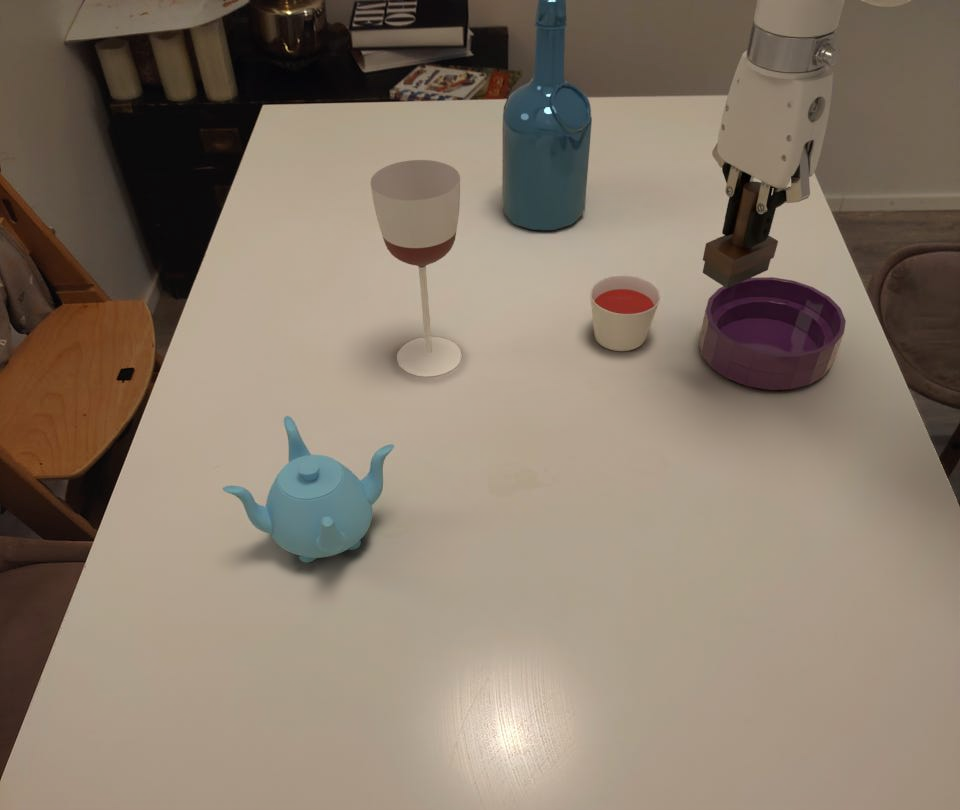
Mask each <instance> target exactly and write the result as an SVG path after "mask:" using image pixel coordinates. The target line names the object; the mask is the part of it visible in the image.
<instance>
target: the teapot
mask: <svg viewBox="0 0 960 810" xmlns="http://www.w3.org/2000/svg"><path fill="white" fill-rule="evenodd" d="M283 425H284V428H285V432H286V436H287V442H288V463H286V464H285V465H284V466H283V467H282V468H281V469H280V471H279V472H278V473H277V474H276V477H275V479H274V481H273V483H272V484H271V486H270V488H269V491H268V494H267V497H266V503H265V505H262V504H259V503H257V502H256V500H255V499H254V496H253V494H252V493H251V492H250V490H249V489H247V488H246V487H243V486H240V485H226V486H223V487H222V491H223V492H225V493H227V494H231V495H233V496H235V497H236V498H238V499H239V501H240V502H241V503H242V505H243V507H244V511H245V513H246V515H247V518H248V519H249V521H250V523H251V524H252V526H253V527H255V528H256V529H257V530H259V531H261V532H263V533H266V534H269V535H270V537H271V538H272V540H273V541H274V542H275V543H276V544H277V545H278V547H281V549H283V550H285V551H287V552H289V553H291V554H293V555H296V556H298V559H299V561H301V562H302V563H311V562H314V561H315V560H317V559H319V558H320V559H321V558H328V557H333V556H336V555H338V554H339V555H340V554H341V553H343V552H346V551H347V550H349V551H353V550H356V549H358V548H359V547H360V546H361V543H362V541H361V540H362V538H363V537H364V536H365V535H366V534H367V532H368V530H369V529H370V526H371V523H372V520H373V513H374V511H373V505H374V504H375V503H376V502H377V501H378V499H379V498H380V497H381V494H382V492H383V487H384V462H385V460H386V458H387V456H389V454H390V453H391V452H392V451H393V450H394V448H395V445H394V444H393V443H390V444H387V445H386V444H385V445H384V446H382V447H380V448H379V449H377V450H376V451H375V453H374V454H373V455H372V457H371V460H370V466H369V471H368V473H367V474H366V475H365V476H364V477H363V478H362V479H359V478H358V477H357V475H356V474H355V473H354V472H353V471H351V470H350V469H349V468H348V467H347V466H345V465H344V464H342V463H341V462H340V461H338V460H336V459H334V458H332V457H330V456H328V455H324V454H311V452H310V451H309V448H308V447H307V445H306V443H305V442H304V440H303V438H302V436H301V434H300V432H299V429H298V426H297V424H296V423H295V420H294V419H293V418H292V417H291V416H290V415H285V416H284V418H283Z"/></svg>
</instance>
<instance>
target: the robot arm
mask: <svg viewBox="0 0 960 810" xmlns="http://www.w3.org/2000/svg"><path fill="white" fill-rule="evenodd" d="M845 1H846V0H756V6H755V11H754V17H753V20H752V25H751V29H750V34H749V40H748V44H747V48H746V49H747V50H745V51H744V52H743V53H742V54H741V57H740V59H739V62H738V63H737V68H736V70H735V72H734V75H733V77H732V80H731V84H730V87H729V90H728V94H727V96H726V97H727V98H726V101H725V104H724V108H723V111H722V112H723V113H722V117H721V121H720V125H719V131H718V137H717V143H716V144H715V146H714V148H713V149H712V152H711V155H712V158H714V160H715V161H716V163H717V164H718V166H719V167H720V168H721V170H722V175H723V177H724V181H725V183H726V185H725V194H726V196H727V197H728V201H727V206H726V211H725V216H724V222H723V227H722V231H721V233H722V235H723V236H724V235H725V236H729V235H731V234H733V231H734V226H735V222H736V218H737V213H738V209H739V205H740V200H741V196H742V192H743V187H744V185H745V184H746V183H747V182H752V181H754V178H755V179H756V180H759V181H761V186H760V191H759V196H758V200H757V205H756V209H754V210H752V211H751V212H750V215H749V219H748V224H747V228H746V232H745V236H744V240H743V246H744V247H746V248H750V247H753V246H755V245H757V244H759V243H761V242H764V241H765V240H766V239H767V237H768V235H769V236H770V232H771V228H772V225H773V222H774V217H775V214H776V210H777V208H779V207H781V206H783V205H784V204H792V203H793V204H794V203H799V202H802V201H804V200H807V199H809V197H810V195H811V186H810V185H811V184H810V178H811V177H813V176H814V174H815V172H816V170H817V167H818V164H819V160H820V155H821V152H822V148H823V145H824V139H825V136H826V130H827V127H828V121H829V115H830V109H831V102H832V96H833V95H832V94H833V85H834V84H833V83H834V69H833V68H832V67H833V66H834V65H836V64H837V62H838V61H839V58H840V56H841V50H840V49H839V48H837V47H835V45H834V43H835V39H836V36H837V30H838V26H839V24H840V19H841V16H842V12H843V8H844V5H845ZM911 1H913V0H860V2H864V3H865V4H869V5H872V6H875V7H881V8H892V7H893V8H894V7H899V6H902V5H905V4H907V3H910V2H911ZM829 66H830V67H829ZM789 183H790V186H788V185H789Z"/></svg>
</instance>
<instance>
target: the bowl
mask: <svg viewBox="0 0 960 810" xmlns="http://www.w3.org/2000/svg"><path fill="white" fill-rule="evenodd" d="M846 323H847V320H846V318H845V316H844V313H843V311H842V308H841V307H840V306H839V305H838V303H836V301H834V300H833V299H832V298H831V296H829V295H827V294H826V293H824V292H822V291H821V290H819V289H817V288H815V287H813V286H811V285H807V284H805V283H802V282H799V281H796V280H792V279H785V278H779V277H770V276H769V277H768V276H767V277H766V276H765V277H763V276H762V277H751V278H749V279H747V280H745V281H743V282H740V283H738V284H736V285H734V286H732V287H729V288H725V287H724V286H721V287H719V288H717V290H716V291H715V292H714V293H712V294H711V296H710V297H709V298H708V300H707V304H706V307H705V310H704V315H703V320H702V325H701V329H700V333H699V334H700V335H699V338H698V346H699V350H700V355H701V356H702V358H703V359H704V360H705V362H706V363H707V364H708V366H709V367H710V368H711V369H713V370H714V371H715V372H717V373H718V374H720V375H721V376H722V377H724V378H726V379H728V380H730V381H733V382H736V383H738V384H741V385H743V386H746V387H751V388H755V389H761V390H765V391H766V390H767V391H768V390H769V391H770V390H772V391H773V390H775V391H777V390H779V391H780V390H793V389H797V388H801V387H807V386H809V385H811V384H813V383H815V382H816V381H817V382H818V380H820V379H822V378H823V377H825V375H827V373H828V371H830V369H831V368H832V367H833V364H834V362H835V358H836V356H837V353H838V350H839V348H840V345H841V343H842V339H843V337H844V334H845V330H846V329H845V328H846Z"/></svg>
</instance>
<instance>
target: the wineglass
mask: <svg viewBox="0 0 960 810" xmlns="http://www.w3.org/2000/svg"><path fill="white" fill-rule="evenodd" d="M370 189H371V197H372V202H373V206H374V207H373V208H374V211H375V216H376V220H377V223H378V226H379V229H380V233H381V237H382V240H383V242H384V245H385V247H386V249H387V250H388V252H389V253H390V255H391V256H393V257H394V258H396V259H397V260H398V261H400V262H402V263H405V264H407V265H411V266H416V267H418V275H419V276H418V277H419V287H420V288H419V289H420V301H421V313H422V325H423V337H419V338H414V339H412V340H410V341H409V342H406V343H405V344H404V345H403V346H401V347H400V348H399V350H398V352H397V354H396V361H397V364H398V366H399V367H400V368H401V369H402V370H403V371H404V372H406V373H409V374H411V375H413V376H418V377H425V378H426V377H427V378H428V377H438V376H441V375H445V374H447V373H449V372H451V371H453V370H454V369H456V367H458V365H459V364H460V362H461V360H462V351H461V348H460V347H459V346H458V345H457V344H456V343H455V342H454V341H452V340H449V339H447V338H444V337H439V336H432V331H431V329H432V328H431V317H430V305H429V291H428V278H427V277H428V275H427V266H428V265H431V264H434V263H436V262H438V261H440V260H442V258H444V257H445V256H446V255H447V254H449V252H450V251H451V250H452V248H453V246H454V244H455V241H456V236H457V230H458V223H459V216H460V205H461V204H460V203H461V201H460V200H461V175H460V173H459V171H458V170H457V169H456V168H454V167H453V166H452V165H450V164H447V163H445V162H441V161H437V160H430V159H411V160H410V159H409V160H404V161H399V162H395V163H392V164H389V165H387V166H384V167H382V168H380V169H379V170H377V171H376V172H375V173H374V174H373V175H372V177H371V179H370Z"/></svg>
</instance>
